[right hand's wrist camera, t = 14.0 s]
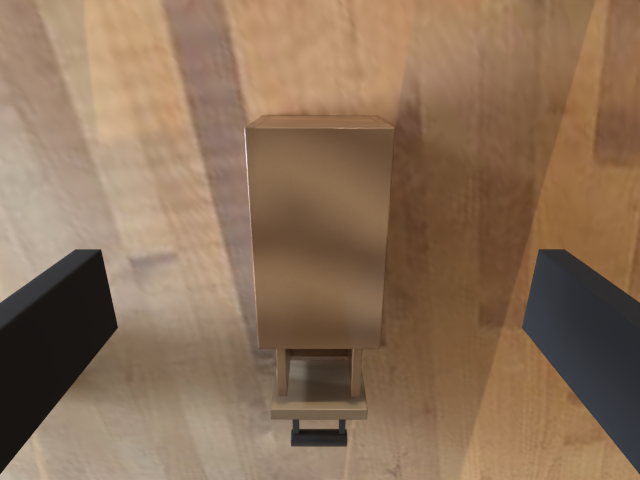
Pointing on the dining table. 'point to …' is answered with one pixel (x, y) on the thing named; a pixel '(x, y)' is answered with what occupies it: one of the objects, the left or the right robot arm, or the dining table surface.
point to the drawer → (319, 393)
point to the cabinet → (319, 228)
